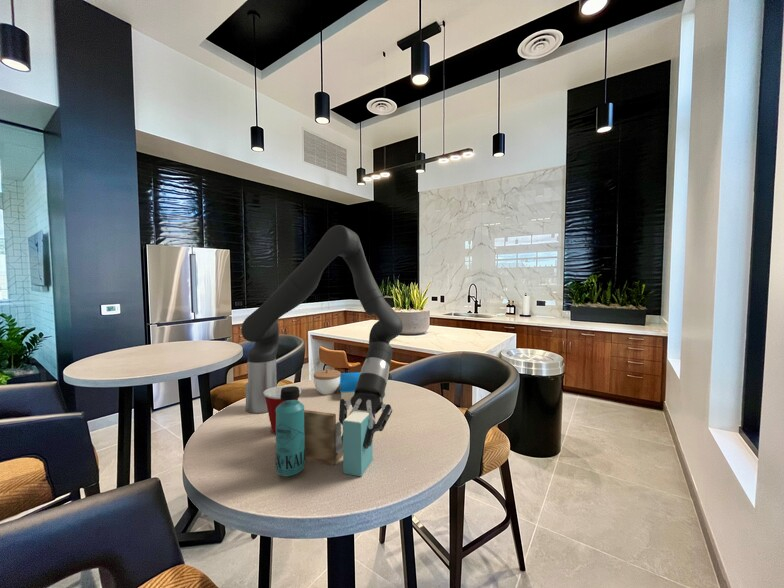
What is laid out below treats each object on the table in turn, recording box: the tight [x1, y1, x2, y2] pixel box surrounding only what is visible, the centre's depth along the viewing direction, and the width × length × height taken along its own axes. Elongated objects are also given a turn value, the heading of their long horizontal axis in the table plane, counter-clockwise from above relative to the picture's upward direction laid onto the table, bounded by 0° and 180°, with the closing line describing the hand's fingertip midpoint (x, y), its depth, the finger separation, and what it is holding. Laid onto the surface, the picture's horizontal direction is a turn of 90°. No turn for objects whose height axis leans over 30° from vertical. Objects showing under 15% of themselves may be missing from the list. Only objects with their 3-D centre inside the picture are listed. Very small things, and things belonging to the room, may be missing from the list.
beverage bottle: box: [274, 385, 306, 477], centre depth 72 cm, size 6×7×20 cm
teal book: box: [342, 410, 374, 477], centre depth 75 cm, size 4×7×12 cm, turn 163°
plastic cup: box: [263, 385, 302, 435], centre depth 95 cm, size 11×11×12 cm
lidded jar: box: [313, 368, 341, 396], centre depth 128 cm, size 11×11×9 cm
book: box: [339, 371, 386, 400], centre depth 132 cm, size 17×4×25 cm
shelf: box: [304, 409, 343, 466], centre depth 84 cm, size 16×12×12 cm
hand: (355, 445), depth 73 cm, fingers closed on teal book, 4 cm apart
